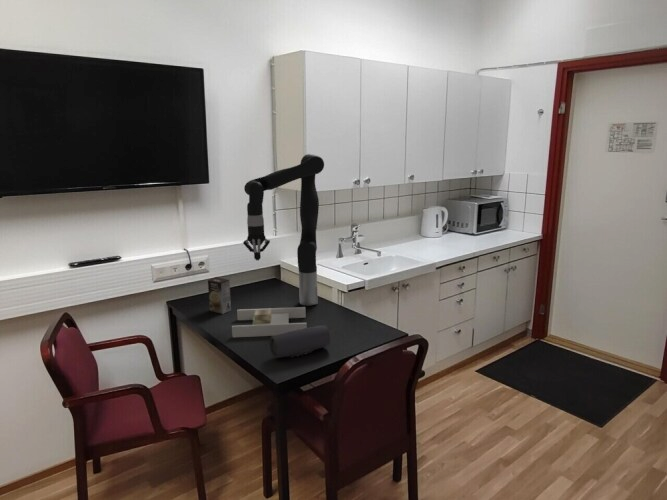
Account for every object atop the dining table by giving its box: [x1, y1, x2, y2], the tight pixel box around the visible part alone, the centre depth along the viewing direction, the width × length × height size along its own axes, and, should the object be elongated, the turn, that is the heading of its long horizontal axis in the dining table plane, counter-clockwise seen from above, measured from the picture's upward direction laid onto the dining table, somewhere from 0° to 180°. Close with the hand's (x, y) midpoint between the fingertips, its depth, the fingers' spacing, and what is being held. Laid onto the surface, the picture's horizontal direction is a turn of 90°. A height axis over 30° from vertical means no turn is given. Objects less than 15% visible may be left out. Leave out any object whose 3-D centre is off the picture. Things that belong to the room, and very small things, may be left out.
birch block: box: [254, 310, 272, 323], centre depth 210 cm, size 7×6×4 cm
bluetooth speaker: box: [269, 324, 331, 359], centre depth 184 cm, size 23×9×10 cm, turn 118°
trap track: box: [231, 306, 308, 338], centre depth 211 cm, size 32×20×5 cm, turn 95°
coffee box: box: [207, 276, 232, 315], centre depth 230 cm, size 9×6×16 cm
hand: (257, 260), depth 221 cm, fingers closed
